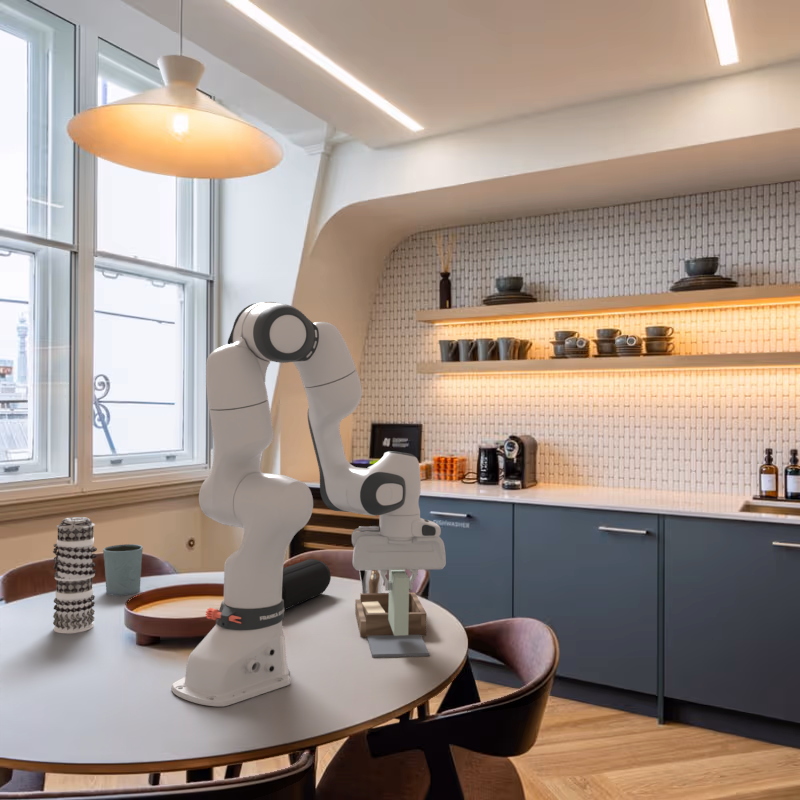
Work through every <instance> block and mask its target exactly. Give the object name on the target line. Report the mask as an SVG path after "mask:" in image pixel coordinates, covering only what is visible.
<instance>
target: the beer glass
mask: <svg viewBox="0 0 800 800" xmlns="http://www.w3.org/2000/svg"><path fill="white" fill-rule="evenodd" d="M358 571H359V578H360V583H361V584H360V585H361V593H383V588H384V584H385V582H384V580H383V578H382V576H381V574H380V570H358Z"/></svg>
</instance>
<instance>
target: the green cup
mask: <svg viewBox="0 0 800 800" xmlns="http://www.w3.org/2000/svg"><path fill="white" fill-rule="evenodd" d="M143 550H144V549H143V545H142V544H135V543H133V544H129V543H128V544H127V543H126V544H116V545H110V546H107V547H103V550H102V552H103V561H104V574H105V575H104V578H105V591H106V594H107V595H109V596H119V597H121V596H128V595H133V594H137V593H139V592H140V590H141V575H142V561H143V560H142V559H143Z"/></svg>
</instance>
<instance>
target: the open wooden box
mask: <svg viewBox="0 0 800 800" xmlns="http://www.w3.org/2000/svg"><path fill="white" fill-rule="evenodd" d="M359 595H360V599H359V598H358V599H355V604H354V605H355V609H354V610H355V618H356V623H357V628H358V633H359V635H360V638H367V636H375V635H394V634H393V631H392V628H391V626H390V623H389V620H388V607H389V592H382V593H362V592H361V593H360V594H359ZM374 601H378V602H379V604H380V605H381V607H382V608H383V610H384V611H385V613H366V619H365V615H364V611H363V608H362V602H374ZM427 616H428V615H427V612H426V610H425V608H424V607H423V605H422V603H421V601H420V599H419V598H418V595H417V593H416V592H409V621H408V635H419V634H420V635H421V637H422V636H427V618H428V617H427Z"/></svg>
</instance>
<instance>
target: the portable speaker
mask: <svg viewBox="0 0 800 800" xmlns="http://www.w3.org/2000/svg"><path fill="white" fill-rule="evenodd" d="M331 579H332V576H331V570H330V569H329V567H328V565H327V564H326V563H324V562H323V561H321V560H318V559H314V558H310V559H306V560H303V561H300V562H297V563H295V564H294V563H293V564H291V565H289V566H285V567H283V579H282V599H283V600H284V610H288V609H291V608H292V607H294V606H297V605H300V604H302V603H304V602H306V601H308V600H310V599H313V598H315V597H317V596H319V595H321V594H323V593H324V592H326V590H327V588H328V587H329V585H330V583H331Z"/></svg>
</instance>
